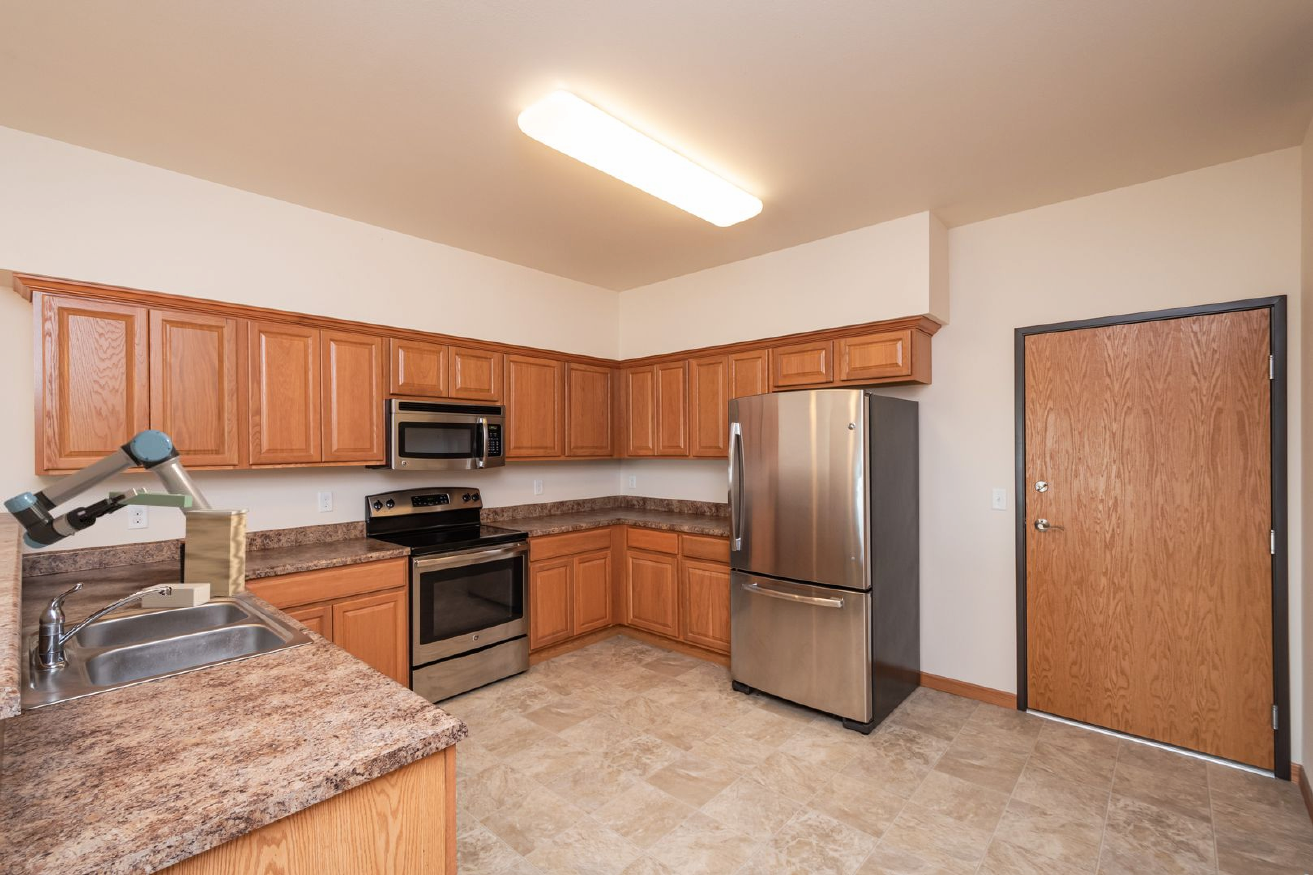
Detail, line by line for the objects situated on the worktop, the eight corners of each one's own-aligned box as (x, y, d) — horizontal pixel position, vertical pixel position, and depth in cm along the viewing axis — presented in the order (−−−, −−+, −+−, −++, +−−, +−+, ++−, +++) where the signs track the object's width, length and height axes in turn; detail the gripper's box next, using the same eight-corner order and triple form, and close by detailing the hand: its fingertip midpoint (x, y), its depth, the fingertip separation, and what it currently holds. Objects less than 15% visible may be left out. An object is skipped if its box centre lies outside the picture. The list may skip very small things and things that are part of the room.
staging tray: (159, 601, 202) (160, 583, 202) (209, 600, 203) (210, 583, 203) (141, 607, 194) (142, 589, 194) (193, 606, 195) (193, 588, 195)
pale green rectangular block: (117, 502, 212) (118, 491, 212) (191, 506, 214) (192, 495, 214) (108, 503, 208) (109, 492, 208) (184, 507, 210) (185, 496, 210)
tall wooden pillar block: (200, 591, 217) (202, 509, 218) (246, 590, 218) (248, 509, 219) (181, 597, 207) (183, 511, 208) (229, 597, 208) (231, 511, 209)
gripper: (101, 527, 217) (162, 498, 219) (58, 533, 200) (125, 502, 202) (91, 508, 217) (153, 480, 219) (48, 514, 200) (115, 483, 202)
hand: (140, 491), depth 211 cm, fingers closed on pale green rectangular block, 4 cm apart
